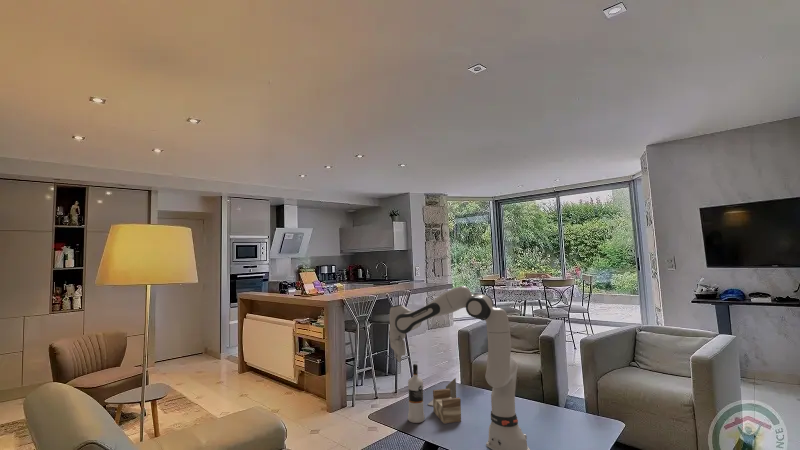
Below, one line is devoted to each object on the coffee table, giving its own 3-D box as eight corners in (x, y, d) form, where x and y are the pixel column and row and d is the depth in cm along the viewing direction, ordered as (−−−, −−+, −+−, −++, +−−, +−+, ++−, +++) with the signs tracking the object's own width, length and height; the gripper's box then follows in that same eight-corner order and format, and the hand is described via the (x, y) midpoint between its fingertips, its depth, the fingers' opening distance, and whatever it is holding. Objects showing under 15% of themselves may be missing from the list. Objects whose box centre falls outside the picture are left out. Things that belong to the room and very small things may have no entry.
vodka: (418, 415, 216) (417, 361, 219) (428, 421, 209) (426, 364, 211) (404, 419, 211) (403, 363, 214) (414, 425, 204) (413, 367, 206)
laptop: (437, 395, 247) (437, 375, 248) (456, 398, 241) (456, 377, 242) (427, 405, 231) (426, 383, 232) (446, 409, 225) (446, 386, 226)
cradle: (461, 421, 208) (460, 398, 209) (443, 423, 205) (443, 400, 206) (449, 409, 224) (449, 388, 225) (433, 411, 222) (432, 390, 223)
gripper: (408, 337, 202) (408, 364, 201) (398, 330, 222) (399, 355, 221) (396, 338, 201) (396, 365, 200) (388, 331, 220) (388, 355, 219)
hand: (397, 359), depth 210 cm, fingers open, 5 cm apart
